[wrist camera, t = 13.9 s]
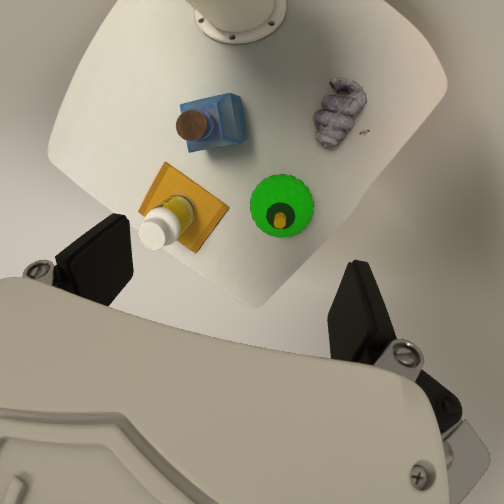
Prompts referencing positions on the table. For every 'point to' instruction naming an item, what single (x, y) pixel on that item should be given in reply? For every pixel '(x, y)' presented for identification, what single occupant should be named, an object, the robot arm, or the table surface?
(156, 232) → the supplement bottle
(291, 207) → the ornament
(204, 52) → the table surface
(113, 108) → the table surface
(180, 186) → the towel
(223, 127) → the perfume bottle
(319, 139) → the seashell
